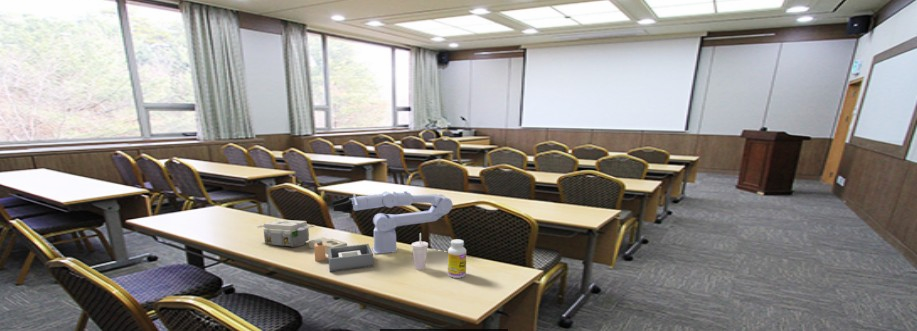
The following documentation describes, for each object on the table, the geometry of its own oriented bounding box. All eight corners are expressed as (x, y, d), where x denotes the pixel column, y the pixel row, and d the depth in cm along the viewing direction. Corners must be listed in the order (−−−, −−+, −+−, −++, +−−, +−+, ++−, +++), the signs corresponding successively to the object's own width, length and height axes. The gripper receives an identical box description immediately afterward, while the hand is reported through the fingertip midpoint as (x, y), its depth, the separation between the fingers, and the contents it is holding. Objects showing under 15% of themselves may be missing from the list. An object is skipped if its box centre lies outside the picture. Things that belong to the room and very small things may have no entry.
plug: (325, 256, 157) (324, 240, 156) (325, 259, 153) (325, 243, 152) (315, 257, 155) (314, 241, 154) (315, 261, 152) (314, 244, 151)
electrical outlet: (322, 235, 173) (347, 242, 163) (323, 243, 174) (347, 251, 163) (308, 239, 168) (333, 247, 157) (308, 247, 168) (333, 256, 158)
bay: (368, 255, 158) (368, 243, 158) (373, 266, 146) (373, 254, 146) (328, 260, 152) (327, 248, 152) (329, 272, 140) (329, 259, 140)
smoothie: (415, 272, 140) (414, 236, 139) (409, 266, 146) (408, 231, 144) (431, 269, 143) (430, 233, 142) (424, 264, 149) (424, 229, 147)
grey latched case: (299, 250, 162) (297, 227, 161) (254, 245, 174) (252, 224, 173) (320, 242, 173) (318, 221, 172) (276, 238, 185) (274, 218, 184)
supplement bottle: (459, 280, 134) (460, 245, 132) (444, 276, 137) (444, 242, 136) (469, 273, 140) (469, 240, 138) (454, 270, 143) (454, 237, 142)
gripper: (363, 190, 166) (331, 193, 161) (368, 196, 152) (333, 200, 147) (364, 205, 167) (332, 209, 162) (369, 213, 153) (334, 217, 148)
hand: (333, 206), depth 155 cm, fingers open, 7 cm apart
